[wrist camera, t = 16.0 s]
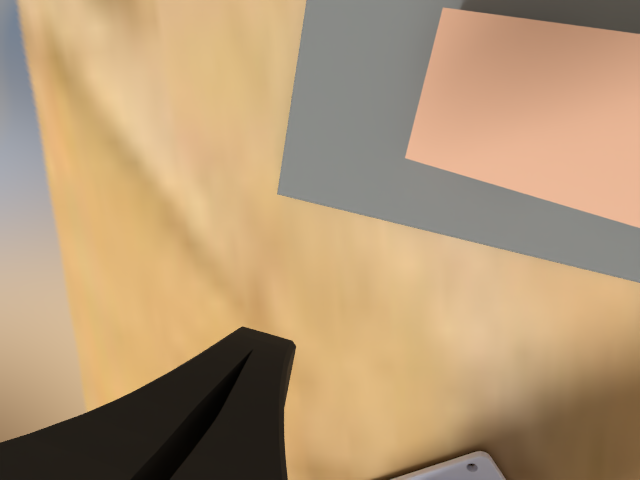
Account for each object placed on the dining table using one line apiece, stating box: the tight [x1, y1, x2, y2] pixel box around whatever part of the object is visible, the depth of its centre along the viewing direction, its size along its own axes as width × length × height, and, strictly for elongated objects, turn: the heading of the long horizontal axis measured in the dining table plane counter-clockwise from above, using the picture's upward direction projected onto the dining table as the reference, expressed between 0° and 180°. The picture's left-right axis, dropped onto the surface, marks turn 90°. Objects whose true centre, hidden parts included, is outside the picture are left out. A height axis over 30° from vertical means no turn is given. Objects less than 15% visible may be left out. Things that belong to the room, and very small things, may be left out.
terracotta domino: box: [405, 8, 640, 228], centre depth 15 cm, size 2×5×9 cm
